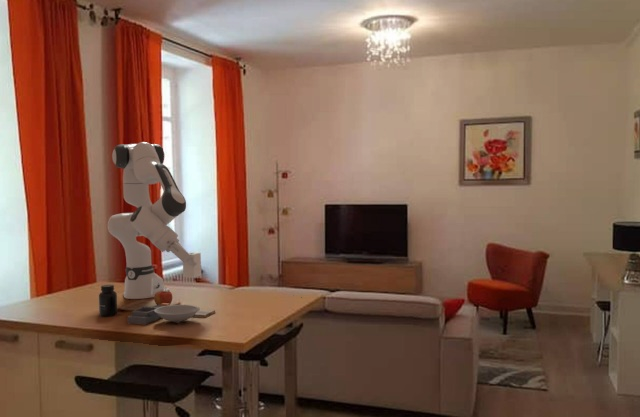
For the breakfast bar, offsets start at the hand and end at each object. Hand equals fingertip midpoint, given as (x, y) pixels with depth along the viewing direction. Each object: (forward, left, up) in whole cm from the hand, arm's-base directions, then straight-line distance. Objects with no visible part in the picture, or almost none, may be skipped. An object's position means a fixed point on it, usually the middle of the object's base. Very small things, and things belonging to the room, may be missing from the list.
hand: (193, 263), depth 214 cm
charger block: (0, -1, -5) cm, 5 cm away
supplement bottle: (+7, -35, -21) cm, 42 cm away
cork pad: (-2, +2, -21) cm, 21 cm away
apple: (-9, -20, -21) cm, 30 cm away
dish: (+11, -1, -21) cm, 24 cm away
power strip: (+3, -15, -21) cm, 26 cm away
